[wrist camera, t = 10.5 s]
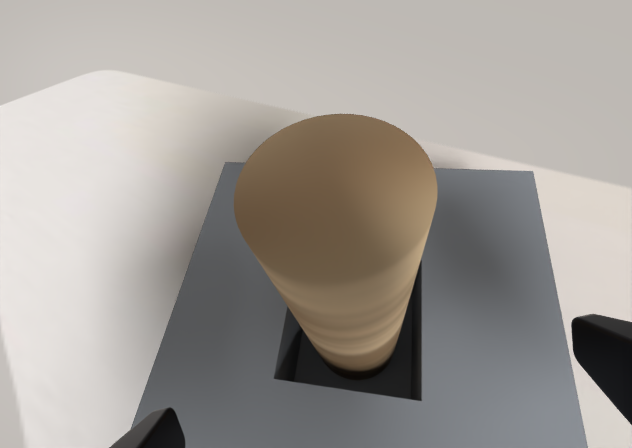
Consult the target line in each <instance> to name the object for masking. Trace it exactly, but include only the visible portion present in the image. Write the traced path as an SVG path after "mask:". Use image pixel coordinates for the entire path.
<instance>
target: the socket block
mask: <svg viewBox="0 0 632 448" xmlns="http://www.w3.org/2000/svg"><path fill="white" fill-rule="evenodd" d="M245 164H246V163H236V162H225V165H224V168H223V170H222V173H221V176H220V179H219V182H218V184H217V187H216V190H215V193H214V196H213V199H212V201H211V204H210V207H209V210H208V213H207V215H206V218H205V221H204V224H203V227H202V230H201V232H200V235H199V238H198V241H197V244H196V246H195V249H194V252H193V255H192V258H191V261H190V263H189V266H188V269H187V272H186V275H185V277H184V280H183V283H182V286H181V289H180V291H179V294H178V297H177V300H176V303H175V306H174V308H173V311H172V314H171V317H170V320H169V322H168V325H167V328H166V331H165V334H164V337H163V339H162V342H161V345H160V348H159V351H158V353H157V356H156V359H155V362H154V365H153V368H152V370H151V373H150V376H149V379H148V382H147V384H146V387H145V390H144V393H143V396H142V399H141V401H140V404H139V407H138V410H137V413H136V415H135V418H134V421H133V424H132V427H131V429H132V428H133V427H134V426H136V425H137V424H138V423H139V422H140V421H142V420H143V419H144V418H145V417H146V416H147V415H149V414H150V413H151V412H152V411H155V410H159V409H163V408H168V407H171V408H173V409H174V410H175V412H176V415H177V417H178V420H179V423H180V425H181V428H182V431H183V433H184V436H185V448H588V446H587V441H586V436H585V431H584V426H583V421H582V416H581V411H580V405H579V400H578V395H577V390H576V385H575V380H574V375H573V370H572V365H571V360H570V355H569V350H568V345H567V340H566V335H565V330H564V325H563V320H562V315H561V310H560V305H559V300H558V295H557V290H556V285H555V280H554V275H553V270H552V264H551V259H550V254H549V249H548V244H547V239H546V234H545V229H544V224H543V219H542V214H541V209H540V204H539V199H538V194H537V189H536V184H535V179H534V174H533V171H506V170H472V169H439V168H433V169H434V171H435V174H436V180H437V202H436V208H435V212H434V215H433V219H432V222H431V226H430V229H429V233H428V236H427V240H426V243H425V247H424V250H423V254H422V257H421V261H420V264H419V267H418V271H417V274H416V278H415V281H414V285H413V288H412V292H411V295H410V299H409V302H408V306H407V309H406V313H405V316H404V320H403V323H402V327H401V330H400V333H399V337H398V340H397V344H396V347H395V351H394V354H393V357H392V359H391V361H390V363H389V364H388V365H387V367H386V368H385V369H384V370H383V371H382V372H380V373H379V374H377V375H376V376H374V377H372V378H369V379H365V380H350V379H346V378H343V377H341V376H339V375H337V374H335V373H334V372H333V371H332V370H330V369H329V368H328V367H327V365H326V364H325V363H324V361H323V360H322V358H321V357H320V355H319V354H318V352H317V351H316V349H315V347H314V346H313V344H312V343H311V341H310V340H309V338H308V337H307V335H306V334H305V332H304V330H303V329H302V327H301V326H300V324H299V323H298V321H297V320H296V318H295V317H294V315H293V314H292V312H291V310H290V309H289V307H288V306H287V304H286V303H285V301H284V300H283V298H282V297H281V295H280V294H279V292H278V290H277V289H276V287H275V286H274V284H273V283H272V281H271V280H270V278H269V277H268V275H267V274H266V272H265V270H264V269H263V267H262V266H261V264H260V263H259V261H258V260H257V258H256V257H255V255H254V253H253V252H252V250H251V249H250V247H249V246H248V244H247V243H246V241H245V240H244V238H243V236H242V234H241V232H240V230H239V228H238V225H237V222H236V218H235V213H234V193H235V187H236V183H237V180H238V178H239V175H240V173H241V171H242V169H243V167H244V165H245Z"/></svg>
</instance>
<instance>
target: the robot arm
mask: <svg viewBox="0 0 632 448" xmlns="http://www.w3.org/2000/svg"><path fill="white" fill-rule="evenodd" d="M571 327H572V341H573V352H574V355H575V358H576V359H577V361H578V363H579V364H580V365H581V366H582V367H583V369H584V370H585V371H586V372H587V373H588V375H589V376H590V377H591V378H592V379H593V380H594V382H595V383H596V384H597V385H598V386H599V387H600V389H601V390H602V391H603V392H604V393H605V395H606V396H607V397H608V398H609V399H610V400H611V402H612V403H613V404H614V405H615V406H616V407H617V409H618V410H619V411H620V412H621V413H622V414H623V416H624V417H625V418H626V419H627V420H628V421H629V422H630V424H631V425H632V322H628V321H624V320H619V319H615V318H610V317H606V316H601V315H596V314H589V315H585V316H580V317H576V318H574V319H573V320H572V325H571ZM110 448H185V436H184V433H183V431H182V428H181V425H180V423H179V420H178V417H177V415H176V412H175V410H174V409H173V408H171V407H168V408H163V409H159V410H155V411H152V412H151V413H150V414H149V415H147V416H146V417H145V418H144V419H143V420H142V421H140V422H139V423H138V424H137V425H136V426H134V427H133V428H132V429H131V430H130V431H129V432H127V433H126V434H125V435H124V436H123V437H121V438H120V439H119V440H118V441H117V442H115V443H114V444H113V445H112V446H111V447H110Z"/></svg>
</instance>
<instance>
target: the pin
mask: <svg viewBox="0 0 632 448" xmlns="http://www.w3.org/2000/svg"><path fill="white" fill-rule="evenodd" d="M436 202H437V180H436V174H435V171H434V169H433V166H432V163H431V161H430V160H429V158H428V156H427V154H426V153H425V151H424V150H423V149H422V147H421V146H420V145H419V144H418V143H417V142H416V141H415V140H414V139H413V138H412V137H410V136H409V135H408V134H407V133H405V132H404V131H402V130H401V129H399V128H397V127H396V126H394V125H391V124H389V123H387V122H385V121H382V120H379V119H376V118H372V117H367V116H363V115H354V114H331V115H323V116H317V117H313V118H309V119H305V120H303V121H300V122H297V123H294V124H292V125H290V126H288V127H286V128H284V129H282V130H281V131H279V132H277V133H276V134H274V135H273V136H271V137H270V138H269V139H267V140H266V141H265V142H264V143H263V144H261V145H260V146H259V147H258V148H257V149H256V150H255V152H254V153H253V154H252V155H251V156H250V158H249V159H248V161H247V162H246V164H245V165H244V167H243V169H242V171H241V173H240V175H239V178H238V180H237V183H236V187H235V193H234V213H235V218H236V222H237V225H238V228H239V230H240V232H241V234H242V236H243V238H244V240H245V241H246V243H247V244H248V246H249V247H250V249H251V250H252V252H253V253H254V255H255V257H256V258H257V260H258V261H259V263H260V264H261V266H262V267H263V269H264V270H265V272H266V274H267V275H268V277H269V278H270V280H271V281H272V283H273V284H274V286H275V287H276V289H277V290H278V292H279V294H280V295H281V297H282V298H283V300H284V301H285V303H286V304H287V306H288V307H289V309H290V310H291V312H292V314H293V315H294V317H295V318H296V320H297V321H298V323H299V324H300V326H301V327H302V329H303V330H304V332H305V334H306V335H307V337H308V338H309V340H310V341H311V343H312V344H313V346H314V347H315V349H316V351H317V352H318V354H319V355H320V357H321V358H322V360H323V361H324V363H325V364H326V365H327V367H328V368H329V369H330V370H332V371H333V372H334V373H335V374H337V375H339V376H341V377H343V378H346V379H350V380H365V379H369V378H372V377H374V376H376V375H377V374H379V373H380V372H382V371H383V370H384V369H385V368H386V367H387V365H388V364H389V363H390V361H391V359H392V357H393V354H394V351H395V347H396V344H397V340H398V337H399V333H400V330H401V327H402V323H403V320H404V316H405V313H406V309H407V306H408V302H409V299H410V295H411V292H412V288H413V285H414V281H415V278H416V274H417V271H418V267H419V264H420V261H421V257H422V254H423V250H424V247H425V243H426V240H427V236H428V233H429V229H430V226H431V222H432V219H433V215H434V212H435V208H436Z"/></svg>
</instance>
